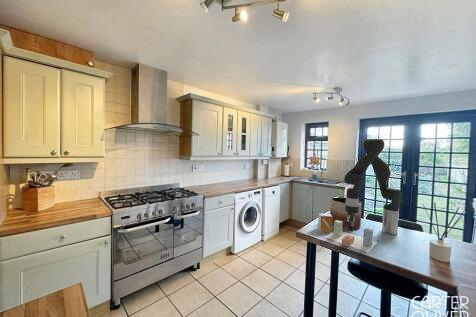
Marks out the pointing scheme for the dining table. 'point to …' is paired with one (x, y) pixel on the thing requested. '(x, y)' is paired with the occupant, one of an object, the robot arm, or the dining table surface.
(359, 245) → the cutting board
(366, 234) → the slate blue block
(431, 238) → the dining table surface
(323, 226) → the small box
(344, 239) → the terracotta block
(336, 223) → the sage block
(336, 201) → the planter
